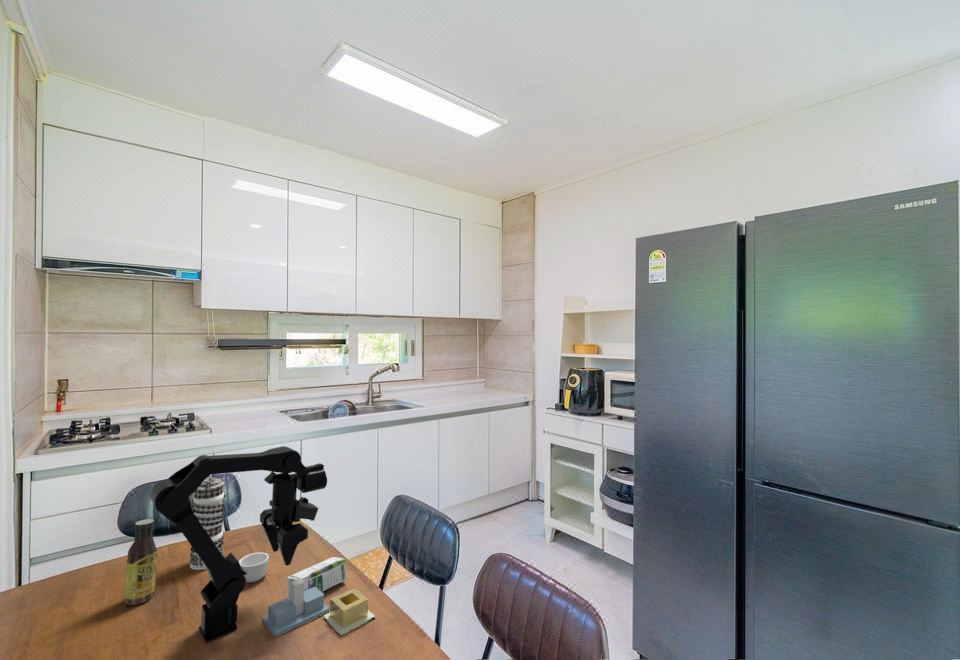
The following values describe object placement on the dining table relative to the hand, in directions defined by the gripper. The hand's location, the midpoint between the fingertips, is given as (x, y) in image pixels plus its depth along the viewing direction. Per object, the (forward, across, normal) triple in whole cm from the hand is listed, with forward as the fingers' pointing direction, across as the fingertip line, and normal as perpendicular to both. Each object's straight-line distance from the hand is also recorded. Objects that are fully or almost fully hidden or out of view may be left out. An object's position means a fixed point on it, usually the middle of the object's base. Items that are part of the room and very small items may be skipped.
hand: (281, 557), depth 110 cm
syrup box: (+8, +1, -17) cm, 19 cm away
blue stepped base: (+12, -8, -1) cm, 14 cm away
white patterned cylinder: (+12, +36, +10) cm, 39 cm away
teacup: (+12, +18, +1) cm, 22 cm away
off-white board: (+12, -17, -11) cm, 23 cm away
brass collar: (+11, -17, -11) cm, 23 cm away
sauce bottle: (+12, +26, +26) cm, 39 cm away
